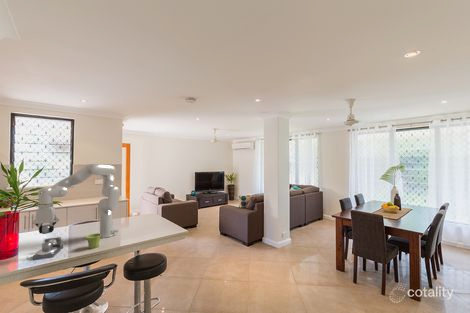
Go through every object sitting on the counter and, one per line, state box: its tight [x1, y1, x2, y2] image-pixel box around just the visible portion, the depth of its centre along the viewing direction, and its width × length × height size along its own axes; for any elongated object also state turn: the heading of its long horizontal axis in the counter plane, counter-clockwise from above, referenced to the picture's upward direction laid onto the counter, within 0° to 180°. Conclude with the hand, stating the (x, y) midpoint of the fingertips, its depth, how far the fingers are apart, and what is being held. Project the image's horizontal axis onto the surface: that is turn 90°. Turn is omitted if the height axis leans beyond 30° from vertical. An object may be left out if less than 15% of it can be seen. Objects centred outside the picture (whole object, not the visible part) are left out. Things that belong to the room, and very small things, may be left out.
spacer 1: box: [41, 223, 51, 235], centre depth 147 cm, size 5×5×5 cm
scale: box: [32, 236, 64, 261], centre depth 149 cm, size 16×11×8 cm
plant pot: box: [85, 232, 101, 250], centre depth 159 cm, size 9×9×9 cm
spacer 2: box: [41, 241, 52, 252], centre depth 147 cm, size 5×5×5 cm
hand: (46, 232), depth 147 cm, fingers closed on spacer 1, 5 cm apart
